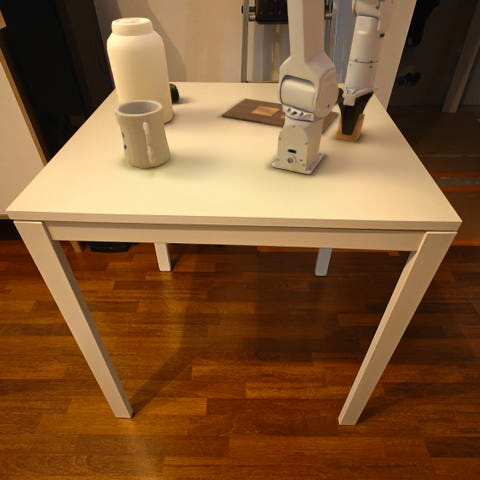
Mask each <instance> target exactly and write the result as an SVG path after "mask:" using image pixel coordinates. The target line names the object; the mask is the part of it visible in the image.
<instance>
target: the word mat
mask: <svg viewBox="0 0 480 480" xmlns="http://www.w3.org/2000/svg"><path fill="white" fill-rule="evenodd" d="M338 113H339V112H337V111H333V110H332V111H331V112H330V113H329V114H328V115H327V116H325V117H324V121H323V128H322V133H324V131H325V130H326V129H327V128H328V127H329V126H330V125H331V124H332V122H333V121H334V119H335V118H336V117H337V116H338ZM221 117H222V118H226V119H233V120H238V121H242V122H243V121H244V122H250V123H257V124H262V125H268V126H274V127H279V128H283V127H284V124H285V117H284V112H283V105H282V104H281V103H278V102H273V101H272V102H271V101H266V100H265V101H264V100H258V99H251V98H244V99H243V100H241V101H240V102H238V103H237V104H235V105H234V106H233V107H231V108H229V109H228V110H226V111H225V112H224V113H222V115H221Z"/></svg>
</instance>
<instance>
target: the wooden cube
mask: <svg viewBox="0 0 480 480" xmlns="http://www.w3.org/2000/svg"><path fill="white" fill-rule="evenodd" d="M365 116H366V114H365V113H363V114H360V115H359V117H358V120H357V123H356V126H355V128H354V131H353V133H352V135H351V136H349V135H344V134H342V129H341V116H340V117H339V119H338V125H337V130H336V136H335V139H336V140H340V141H347V142H353V143H357V141H358V139H359V138H360V136H361V133H362V131H363V125H364V122H365V121H364V120H365V118H366V117H365Z"/></svg>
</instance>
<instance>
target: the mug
mask: <svg viewBox="0 0 480 480" xmlns="http://www.w3.org/2000/svg"><path fill="white" fill-rule="evenodd" d="M114 114H115V117H116V120H117V123H118V125H119V129H120V134H121V138H122V143H123V152H124V158H125V159H124V160H125V161H126V162H127V164H129V165H130V166H132V167H135V168H141V169H143V168H147V169H148V168H155V167H159V166H161V165H163V164H166V162H168V161H169V159H170V158H171V151H170V146H169V141H168V139H167V135H166V129H165V123H164V117H163V106H162V104H161V103H159V102H157V101H153V100H134V101H128V102H125V103H122V104H118V105H117V106H116V107H115V108H114Z"/></svg>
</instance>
